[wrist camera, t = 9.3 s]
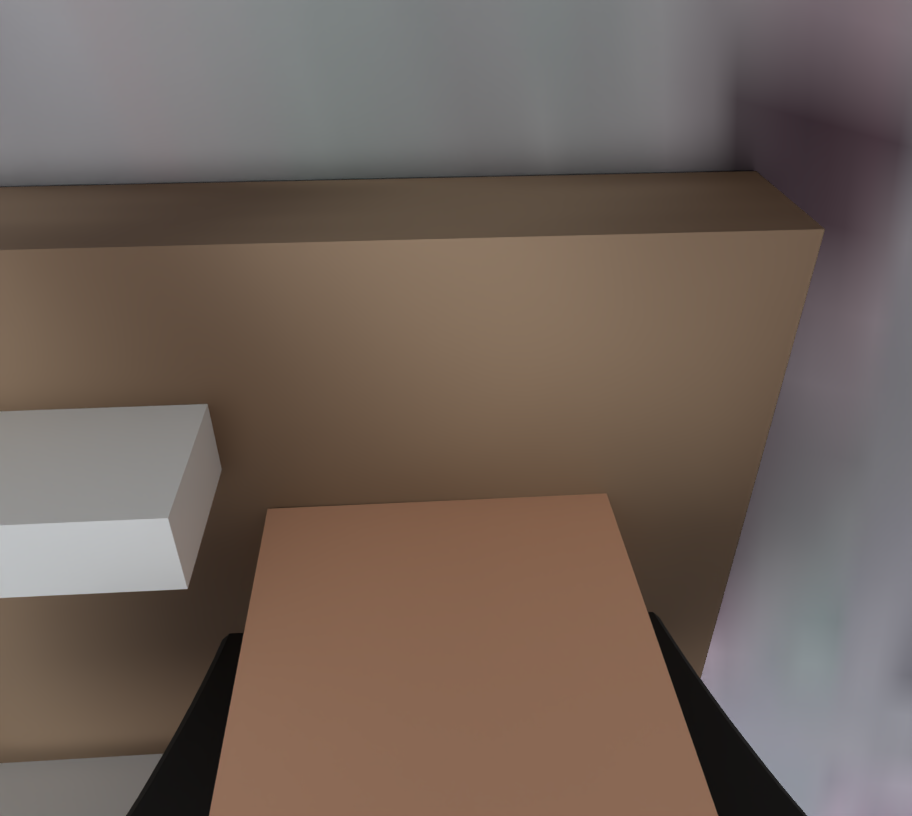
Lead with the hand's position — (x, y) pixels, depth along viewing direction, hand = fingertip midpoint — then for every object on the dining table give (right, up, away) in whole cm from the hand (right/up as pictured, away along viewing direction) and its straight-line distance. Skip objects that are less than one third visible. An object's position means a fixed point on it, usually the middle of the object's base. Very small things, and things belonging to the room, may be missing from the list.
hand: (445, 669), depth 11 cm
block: (0, +1, +1) cm, 1 cm away
